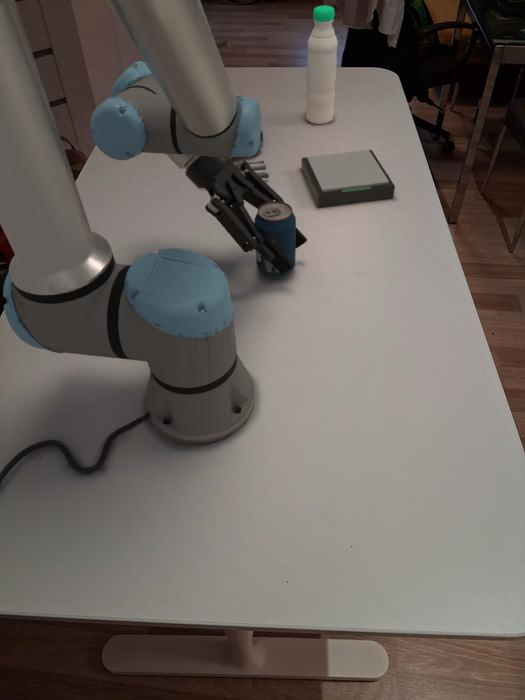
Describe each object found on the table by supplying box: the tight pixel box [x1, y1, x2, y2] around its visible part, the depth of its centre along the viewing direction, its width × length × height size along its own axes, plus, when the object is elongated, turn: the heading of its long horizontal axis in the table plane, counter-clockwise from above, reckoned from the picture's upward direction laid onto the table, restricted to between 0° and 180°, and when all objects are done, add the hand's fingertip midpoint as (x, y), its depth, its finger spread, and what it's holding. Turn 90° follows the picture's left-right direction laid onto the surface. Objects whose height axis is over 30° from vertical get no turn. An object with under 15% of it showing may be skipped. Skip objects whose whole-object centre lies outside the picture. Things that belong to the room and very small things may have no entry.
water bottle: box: [305, 5, 339, 125], centre depth 129 cm, size 7×7×25 cm
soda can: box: [253, 200, 297, 279], centre depth 92 cm, size 7×7×12 cm
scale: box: [300, 149, 396, 209], centre depth 115 cm, size 16×16×3 cm
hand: (294, 256), depth 93 cm, fingers closed on soda can, 7 cm apart
